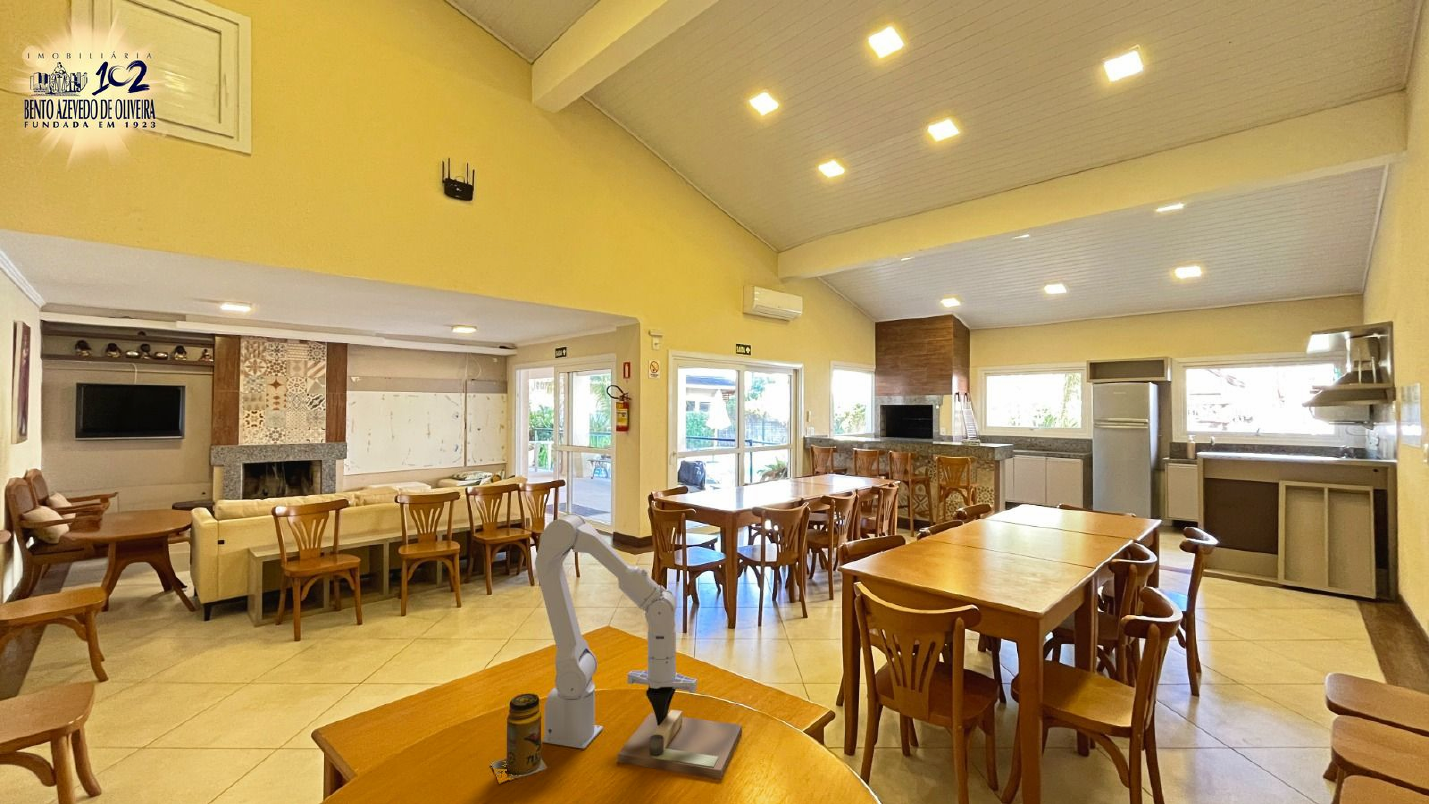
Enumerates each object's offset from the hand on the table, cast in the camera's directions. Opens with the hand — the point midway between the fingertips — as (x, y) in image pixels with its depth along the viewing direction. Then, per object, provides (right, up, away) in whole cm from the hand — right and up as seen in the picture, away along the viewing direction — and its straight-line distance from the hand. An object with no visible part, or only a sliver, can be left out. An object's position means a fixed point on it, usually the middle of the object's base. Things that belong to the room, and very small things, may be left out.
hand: (661, 723), depth 112 cm
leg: (+1, 0, -4) cm, 4 cm away
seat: (+4, -2, -4) cm, 6 cm away
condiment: (-25, -3, -10) cm, 27 cm away
